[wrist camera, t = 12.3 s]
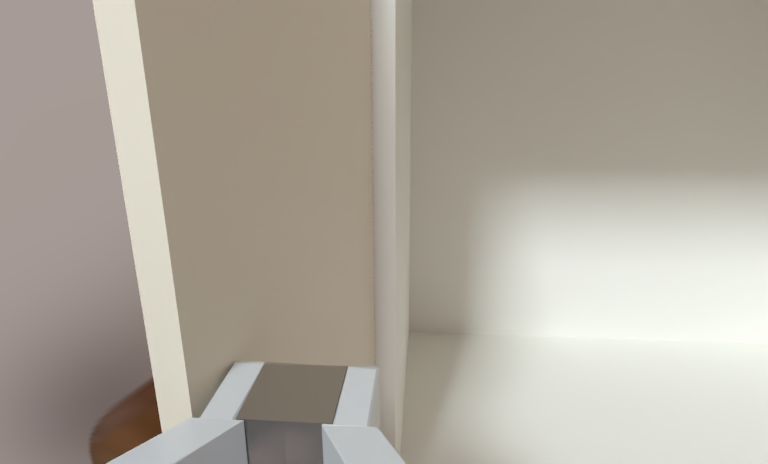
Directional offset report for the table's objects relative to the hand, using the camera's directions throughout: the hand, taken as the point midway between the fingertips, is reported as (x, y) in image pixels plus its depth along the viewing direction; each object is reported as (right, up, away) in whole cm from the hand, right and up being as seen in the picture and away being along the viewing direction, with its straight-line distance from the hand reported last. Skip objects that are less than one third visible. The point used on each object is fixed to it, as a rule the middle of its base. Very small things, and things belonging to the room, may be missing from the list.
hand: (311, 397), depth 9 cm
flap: (0, +1, +2) cm, 2 cm away
